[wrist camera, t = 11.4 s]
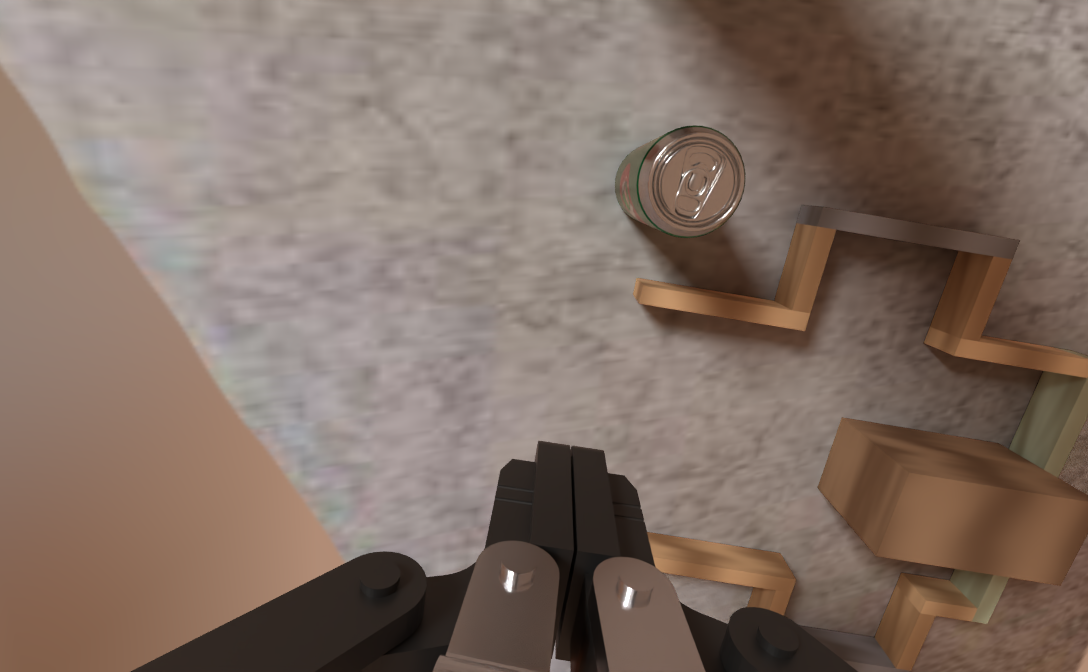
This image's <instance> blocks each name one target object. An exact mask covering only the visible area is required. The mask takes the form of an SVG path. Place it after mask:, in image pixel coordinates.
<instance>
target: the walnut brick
mask: <svg viewBox="0 0 1088 672" xmlns="http://www.w3.org/2000/svg"><path fill="white" fill-rule="evenodd" d="M818 489H819V490H820V491H821V492H822V493H823V495H824V496H825V497H826V498H827V499H828V500H829V502H830V503H831V504H832V505H833V506H834V507H835V509H836V510H837V511H838V512H839V513H840V514H841V516H842V517H843V518H844V519H845V520H846V521H847V523H848V524H849V525H850V526H851V527H852V529H853V530H854V531H855V532H856V533H857V534H858V536H859V537H860V538H861V539H862V540H863V541H864V543H865V544H866V545H867V546H868V547H869V548H870V550H871V551H872V552H873V553H874V554H875V555H876V556H878V557H885V558H891V559H897V560H903V561H910V562H916V563H922V564H928V565H935V566H941V567H947V568H953V569H959V570H966V571H972V572H978V573H984V574H991V575H997V576H1003V577H1009V578H1016V579H1022V580H1028V581H1034V582H1040V583H1047V584H1053V585H1059V586H1061V584H1062V582H1063V580H1064V578H1065V576H1066V574H1067V572H1068V571H1069V569H1070V567H1071V565H1072V563H1073V561H1074V559H1075V557H1076V555H1077V553H1078V551H1079V550H1080V548H1081V546H1082V544H1083V542H1084V540H1085V538H1086V536H1087V534H1088V495H1086V494H1085V493H1083V492H1081V491H1079V490H1078V489H1076V488H1074V487H1073V486H1071V485H1069V484H1067V483H1066V482H1064V481H1062V480H1061V479H1059V478H1057V477H1056V476H1054V475H1052V474H1050V473H1049V472H1047V471H1045V470H1044V469H1042V468H1040V467H1038V466H1037V465H1035V464H1033V463H1032V462H1030V461H1028V460H1027V459H1025V458H1023V457H1021V456H1020V455H1018V454H1016V453H1015V452H1013V451H1011V450H1009V449H1008V448H1006V447H1004V446H1003V445H1001V444H999V443H994V442H988V441H982V440H976V439H970V438H964V437H958V436H952V435H945V434H939V433H933V432H927V431H921V430H915V429H909V428H903V427H897V426H891V425H885V424H879V423H873V422H867V421H861V420H854V419H848V418H842V419H841V422H840V425H839V427H838V430H837V433H836V436H835V439H834V442H833V445H832V448H831V451H830V453H829V456H828V459H827V462H826V465H825V468H824V471H823V474H822V476H821V479H820V482H819V485H818Z"/></svg>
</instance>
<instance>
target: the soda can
mask: <svg viewBox="0 0 1088 672" xmlns="http://www.w3.org/2000/svg"><path fill="white" fill-rule="evenodd" d="M744 187H745V168H744V163H743V160H742V157H741V155H740V153H739V151H738V149H737V148H736V146H735V145H734V144H733V142H732V141H731V140H730V139H729V138H727V137H726V136H725V135H724V134H722V133H720V132H719V131H717V130H714V129H712V128H709V127H704V126H685V127H681V128H677V129H675V130H673V131H670V132H668V133H666V134H664V135H662V136H660V137H658V138H656V139H654V140H652V141H650V142H648V143H646V144H644V145H642V146H640V147H638V148H636V149H635V150H633V151H632V152H631V153H630V154H629V155H627V156H626V158H625V159H624V160H623V161H622V163H621V165H620V166H619V169H618V171H617V174H616V178H615V193H616V197H617V200H618V202H619V204H620V206H621V208H622V209H623V210H624V211H625V213H626V214H628V215H629V216H630V217H631V218H633V219H635V220H637V221H639V222H641V223H643V224H646V225H648V226H650V227H653V228H655V229H657V230H659V231H662V232H664V233H666V234H669V235H671V236H675V237H681V238H692V237H699V236H702V235H706V234H708V233H710V232H713V231H714V230H716V229H717V228H719V227H720V226H722V225H723V224H724V223H725V222H726V221H727V220H728V219H729V218H730V217H731V216H732V215H733V213H734V212H735V210H736V209H737V207H738V205H739V203H740V201H741V199H742V195H743V192H744Z"/></svg>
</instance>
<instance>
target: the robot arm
mask: <svg viewBox="0 0 1088 672" xmlns="http://www.w3.org/2000/svg"><path fill="white" fill-rule="evenodd" d="M640 507H641V505H640V501H639V497H638V493H637V490H636V489H635V488H634V486H633V485H632V484H631V483H630V482H629V481H628V479H627V478H626V477H625V476H623V475H617V474H610V473H608V472H607V466H606V460H605V454H604V451H603V450H598V449H591V448H584V447H578V446H572V447H571V450H570V445H564V444H557V443H551V442H544V441H538V445H537V450H536V456H535V462H530V461H523V460H516V459H512V460H511V461H510V462H509V463H508V464H507V465H505V466H504V467H503V468H502V469H501V471H500V476H499V481H498V486H497V491H496V496H495V501H494V506H493V511H492V516H491V521H490V526H489V531H488V536H487V540H486V545H485V549H484V551H482V553H481V554H480V555H479V557H478V559H477V561H476V562H475V563H474V564H473V565H472V566H470V567H468V568H467V569H465V570H462V571H460V572H457V573H453V574H449V575H443V576H434V577H426V575H425V572H424V570H423V569H422V567H421V566H420V565H419V564H418V563H417V562H416V561H415V560H413V559H412V558H410V557H408V556H406V555H403V554H400V553H395V552H374V553H369V554H365V555H362V556H359V557H357V558H355V559H353V560H351V561H349V562H347V563H345V564H343V565H341V566H339V567H337V568H335V569H333V570H331V571H329V572H327V573H325V574H323V575H321V576H319V577H317V578H315V579H313V580H311V581H309V582H307V583H305V584H303V585H301V586H299V587H297V588H295V589H293V590H291V591H289V592H287V593H285V594H283V595H281V596H279V597H277V598H275V599H273V600H271V601H269V602H268V603H265V604H264V605H261V606H260V607H258V608H256V609H254V610H252V611H250V612H248V613H246V614H244V615H242V616H240V617H238V618H236V619H234V620H232V621H230V622H228V623H226V624H224V625H222V626H220V627H218V628H216V629H214V630H212V631H210V632H208V633H206V634H204V635H202V636H200V637H198V638H196V639H194V640H192V641H190V642H188V643H186V644H185V645H182V646H180V647H178V648H176V649H175V650H172V651H170V652H169V653H166V654H165V655H163V656H161V657H159V658H157V659H155V660H153V661H151V662H149V663H147V664H145V665H143V666H141V667H139V668H137V669H135V670H133V671H131V672H550V663H551V659H552V655H553V650H554V645H555V640H556V659H559V660H566V661H570V662H571V672H858V671H857V670H856V669H854V668H853V667H852V666H850V665H849V664H848V663H846V662H845V661H844V660H843V659H841V658H840V657H839V656H837V655H836V654H835V653H834V652H832V651H831V650H830V649H828V648H827V647H826V646H825V645H823V644H822V643H821V642H819V641H818V640H817V639H816V638H814V637H813V636H812V635H810V634H809V633H808V632H806V631H805V630H804V629H803V628H801V627H800V626H799V625H797V624H796V623H794V622H793V621H792V620H790V619H788V618H787V617H785V616H783V615H781V614H779V613H777V612H774V611H771V610H768V609H764V608H759V607H746V608H741V609H739V610H737V611H736V612H735V613H733V614H732V616H731V618H730V620H729V623H728V624H726V623H724V622H721V621H719V620H716V619H714V618H711V617H709V616H706V615H704V614H701V613H699V612H697V611H695V610H693V609H691V608H689V607H687V606H685V605H684V604H682V603H681V602H680V601H679V599H678V596H677V593H676V591H675V589H674V586H673V584H672V583H671V582H670V580H669V579H668V578H667V577H666V576H665V574H663V573H662V572H661V571H660V570H659V569H657V568H656V567H655V563H654V559H653V555H652V551H651V547H650V542H649V538H648V534H647V530H646V526H645V522H644V518H643V514H642V509H640Z"/></svg>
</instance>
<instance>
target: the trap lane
mask: <svg viewBox="0 0 1088 672" xmlns="http://www.w3.org/2000/svg"><path fill="white" fill-rule="evenodd" d="M836 230H839V231H845V232H851V233H857V234H863V235H869V236H875V237H881V238H886V239H892V240H898V241H904V242H910V243H916V244H922V245H928V246H934V247H939V248H945V249H951V250H957V251H958V254H957V256H956V259H955V262H954V264H953V267H952V270H951V272H950V275H949V278H948V280H947V283H946V286H945V288H944V291H943V294H942V296H941V299H940V301H939V304H938V307H937V309H936V312H935V315H934V317H933V320H932V323H931V325H930V328H929V331H928V333H927V336H926V339H925V341H924V343H925V344H928V345H930V346H932V347H935V348H937V349H939V350H942V351H944V352H946V353H948V354H951V355H953V356H958V357H964V358H970V359H976V360H982V361H988V362H994V363H1000V364H1006V365H1012V366H1018V367H1024V368H1030V369H1036V370H1042V371H1043V373H1042V376H1041V378H1040V380H1039V382H1038V385H1037V387H1036V389H1035V391H1034V393H1033V396H1032V398H1031V400H1030V402H1029V405H1028V407H1027V409H1026V411H1025V413H1024V416H1023V418H1022V420H1021V422H1020V425H1019V427H1018V429H1017V431H1016V434H1015V436H1014V438H1013V440H1012V442H1011V445H1010V447H1009V450H1011V451H1013V452H1015V453H1016V454H1018V455H1020V456H1021V457H1023V458H1025V459H1027V460H1028V461H1030V462H1032V463H1033V464H1035V465H1037V466H1038V467H1040V468H1042V469H1044V470H1045V471H1047V472H1049V473H1050V474H1052V475H1054V476H1056V477H1057V478H1058V477H1059V475H1060V472H1061V470H1062V468H1063V466H1064V464H1065V462H1066V460H1067V458H1068V456H1069V454H1070V452H1071V450H1072V448H1073V446H1074V444H1075V442H1076V440H1077V437H1078V435H1079V433H1080V431H1081V429H1082V427H1083V425H1084V423H1085V421H1086V419H1087V417H1088V356H1087V355H1084V354H1080V353H1077V352H1074V351H1071V350H1066V349H1060V348H1054V347H1048V346H1042V345H1036V344H1030V343H1024V342H1018V341H1012V340H1006V339H1000V338H994V337H988V336H982V333H983V330H984V328H985V325H986V323H987V321H988V318H989V316H990V313H991V311H992V308H993V306H994V303H995V301H996V298H997V296H998V293H999V291H1000V289H1001V286H1002V284H1003V281H1004V279H1005V276H1006V274H1007V271H1008V269H1009V266H1010V264H1011V261H1012V259H1013V257H1014V254H1015V252H1016V249H1017V247H1018V244H1019V242H1020V240H1015V239H1010V238H1004V237H998V236H992V235H986V234H980V233H974V232H968V231H963V230H957V229H951V228H945V227H939V226H933V225H927V224H921V223H916V222H910V221H904V220H898V219H892V218H886V217H880V216H874V215H869V214H863V213H857V212H851V211H845V210H839V209H833V208H827V207H819V206H806V205H802V206H801V210H800V213H799V216H798V220H797V223H796V227H795V230H794V234H793V237H792V241H791V244H790V248H789V251H788V255H787V258H786V261H785V265H784V268H783V272H782V275H781V279H780V282H779V286H778V289H777V293H776V296H775V300H774V301H772V300H766V299H760V298H755V297H749V296H743V295H737V294H731V293H725V292H719V291H713V290H707V289H701V288H695V287H689V286H683V285H677V284H671V283H665V282H659V281H653V280H647V279H641V278H637V279H636V283H635V288H634V293H633V295H634V297H635V298H636V299H637V301H638V302H639V304H645V305H651V306H657V307H663V308H669V309H675V310H681V311H687V312H693V313H699V314H705V315H711V316H717V317H723V318H729V319H735V320H741V321H747V322H753V323H759V324H765V325H771V326H777V327H783V328H789V329H795V330H801V331H805V329H806V326H807V323H808V319H809V316H810V313H811V310H812V306H813V303H814V300H815V297H816V294H817V290H818V287H819V284H820V281H821V277H822V274H823V271H824V268H825V265H826V261H827V258H828V255H829V252H830V248H831V245H832V242H833V239H834V236H835V232H836ZM647 534H648V538H649V542H650V547H651V551H652V555H653V559H654V563H655V567H656V568H657V569H659V570H660V571H661V572H663V573H669V574H676V575H682V576H688V577H695V578H701V579H707V580H713V581H720V582H726V583H732V584H739V585H745V586H751V587H754V588H753V591H752V594H751V597H750V600H749V603H748V606H747V607H759V608H764V609H768V610H771V611H774V612H777V613H779V614H781V615H783V616H784V613H785V610H786V607H787V605H788V602H789V599H790V596H791V593H792V590H793V588H794V585H795V582H796V579H795V577H794V575H793V574H792V572H791V570H790V569H789V567H788V565H787V564H786V562H785V560H784V559H783V557H782V555H781V554H780V553H775V552H769V551H763V550H757V549H750V548H744V547H738V546H732V545H725V544H719V543H713V542H707V541H700V540H694V539H688V538H682V537H675V536H669V535H663V534H656V533H650V532H647ZM1008 580H1009V577H1003V576H997V575H991V574H984V573H978V572H972V571H966V570H959V569H954V572H953V574H952V576H951V578H950V580H944V579H938V578H932V577H926V576H919V575H913V574H907V573H901V575H900V577H899V580H898V582H897V584H896V587H895V589H894V591H893V594H892V596H891V599H890V601H889V603H888V606H887V608H886V611H885V613H884V615H883V618H882V620H881V623H880V625H879V627H878V630H877V632H876V635H875V637H869V636H863V635H856V634H850V633H844V632H837V631H831V630H825V629H818V628H812V627H805V626H800V627H801V628H803V629H804V630H805V631H806V632H808V633H809V634H810V635H812V636H813V637H814V638H816V639H817V640H818V641H819V642H821V643H822V644H823V645H825V646H826V647H827V648H828V649H830V650H831V651H832V652H834V653H835V654H836V655H837V656H839V657H840V658H841V659H843V660H844V661H845V662H846V663H848V664H849V665H850V666H852V667H853V668H854V669H856V670H857V671H858V672H911V670H912V667H913V665H914V663H915V661H916V659H917V656H918V654H919V652H920V650H921V647H922V645H923V643H924V641H925V639H926V636H927V634H928V632H929V630H930V627H931V625H932V623H933V621H934V619H935V616H940V617H947V618H953V619H959V620H966V621H972V622H978V623H984V624H987V623H988V621H989V619H990V617H991V615H992V612H993V610H994V608H995V606H996V604H997V602H998V600H999V598H1000V596H1001V594H1002V592H1003V590H1004V588H1005V586H1006V584H1007V582H1008Z"/></svg>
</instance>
